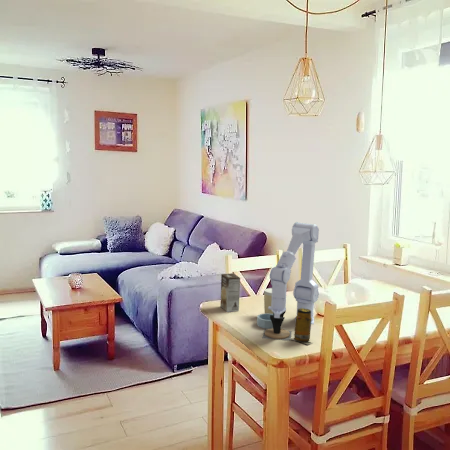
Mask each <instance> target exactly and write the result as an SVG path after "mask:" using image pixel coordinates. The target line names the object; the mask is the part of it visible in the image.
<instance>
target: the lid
mask: <svg viewBox="0 0 450 450" xmlns="http://www.w3.org/2000/svg"><path fill="white" fill-rule="evenodd" d="M288 331H289V330H286V329H283V328H281V329H280V333H279V334H275V333H274V331H273V328H272V329H267V330H266V331H265V335H266V336H267V337H269V338H273V339H272V340H276V339H285V338H288V337H289V336H290V333H289V332H288Z"/></svg>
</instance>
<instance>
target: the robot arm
mask: <svg viewBox="0 0 450 450" xmlns="http://www.w3.org/2000/svg"><path fill="white" fill-rule="evenodd" d="M319 232H320V228H319V227H318V225H317V224H316V223H313V224H312V223H307V222H306V223H304V222H298V221H296V222H294V223H293V225H292V227H291V235H292V237H291V239H290V241H289V244H288V247H287V249H286V251H283V252H282V254H281V256H280V257H279V259H278V262H277V264H276V266H274V267H272V268H271V269H270V273H269V279H270V285H271V288H272V301H271V306H269V307H268V309H270V310H272V312H273V315H270V319H271V321H272V324H273V331H274V333H275V334H279V333H280V329H282V324H283V322H284V320H285V316H284V315H285V314H286V311H287V306H286V305H287V286H288V285H287V284H288V282H289V281H290V279H291V273H292V270H291V269H292V267H293V265H294V264H295V260H296V259H297V258H296V256H295V255H296V254H297V251H298V250H299V248H300V247H301V246H302V256H301V258H302V259H301V269H300V270H301V272H300V279H299V280H297V281H296V282H295V284H294V289H293V292H292V294H293V298H294V299H295V302H296V314H297V313H298V309H300V308H304V309H309V310H311V318H312V319H311V325H314V324H315V318H314V305H315V303H316V302H317V301H318V299H319V295H320V292H319V285H318V283H316V282H315V281H314V280H313V275H314V263H315V249H316V243H318V242H319V234H320V233H319ZM302 244H303V245H302ZM294 323H296V317H295V319H294Z"/></svg>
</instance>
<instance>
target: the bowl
mask: <svg viewBox="0 0 450 450" xmlns="http://www.w3.org/2000/svg"><path fill="white" fill-rule="evenodd" d="M270 315H273V314H268V313H265V312H264V313H260V314H258V315H257V316H256V325H257V326H258V327H259V328H262V329H272V328H273V324H272V321H271V319H270Z"/></svg>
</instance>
